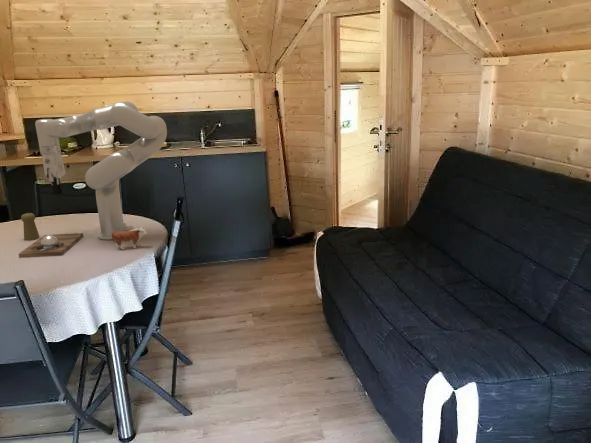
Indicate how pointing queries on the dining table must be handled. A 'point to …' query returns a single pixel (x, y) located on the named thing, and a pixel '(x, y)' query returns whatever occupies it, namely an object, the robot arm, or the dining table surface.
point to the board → (63, 246)
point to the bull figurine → (128, 237)
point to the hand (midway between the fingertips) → (58, 193)
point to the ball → (49, 242)
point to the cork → (29, 227)
